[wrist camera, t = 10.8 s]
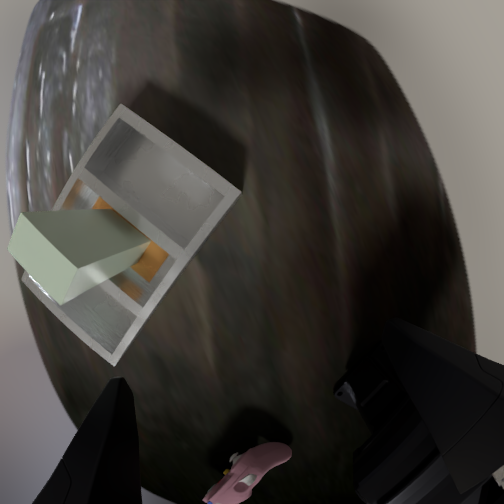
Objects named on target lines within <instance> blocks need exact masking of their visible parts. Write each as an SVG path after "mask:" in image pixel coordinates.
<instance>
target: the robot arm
mask: <svg viewBox="0 0 504 504" xmlns="http://www.w3.org/2000/svg"><path fill="white" fill-rule="evenodd" d="M382 345H384V346H383V347H382V348H381V346H382ZM338 392H341V393H339V394H338ZM333 393H334V396H335V397H336V398H337V399H339V400H341V401H343V402H344V403H346V404H348V405H350V406H351V407H353V408H355V409H357V410H359V412H360V414H361V416H362V418H363V419H364V421H365V423H366V425H367V427H368V429H369V430H370V432H371V434H372V435H371V436H370V438H369V439H368V440H367V441H366V442H365V443H364V444H363V445H362V446H361V447H360V448H357V449H356V450H355V451H354V452H353V484H354V489H355V492H356V493H357V495H358V496H359V497H360V498H361V500H362V501H364V502H365V503H366V504H504V365H502V364H499V363H497V362H494V361H492V360H489V359H487V358H485V357H482V356H480V355H478V354H476V353H475V354H474V352H471V351H469V350H467V349H465V348H463V347H461V346H459V345H456V344H454V343H452V342H450V341H448V340H446V339H443V338H441V337H439V336H437V335H435V334H433V333H430V332H428V331H426V330H424V329H422V328H420V327H417V326H415V325H413V324H411V323H409V322H406V321H404V320H402V319H400V318H397V317H395V318H392V319H389V320H387V321H386V323H385V326H384V330H383V333H382V341H379V342H378V343H377V345H376V346H375V347H374V348H373V349H372V350H371V351H370V353H369V354H368V355H367V356H366V357H365V358H364V359H363V360H362V361H361V362H360V363H359V364H358V366H357V367H356V368H355V369H354V370H353V371H352V372H351V373H350V374H349V375H348V376H347V377H346V379H345V380H344V381H343V382H342V383H341V384H340V385H339V386H338V387H337V388H336V389H335V390H334V392H333ZM62 458H63V459H61V460H60V462H59V463H58V465H57V467H56V469H55V470H54V472H53V474H52V475H51V477H50V479H49V480H48V481H47V483H46V485H45V486H44V487H43V489H42V490H41V492H40V493H39V494H38V496H37V497H36V499H35V500H34V501H33V503H32V504H142V496H141V483H140V466H139V441H138V431H137V423H136V415H135V406H134V397H133V393H132V391H131V389H130V387H129V385H128V384H127V382H126V380H125V379H124V378H123V377H112V378H110V380H109V381H108V383H107V384H106V386H105V387H104V389H103V390H102V392H101V394H100V395H99V397H98V398H97V400H96V402H95V403H94V405H93V406H92V408H91V410H90V411H89V413H88V414H87V416H86V418H85V419H84V421H83V423H82V424H81V426H80V428H79V429H78V431H77V433H76V434H75V436H74V438H73V439H72V441H71V443H70V445H69V446H68V448H67V450H66V451H65V453H64V455H63V457H62Z"/></svg>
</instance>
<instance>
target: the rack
mask: <svg viewBox="0 0 504 504" xmlns="http://www.w3.org/2000/svg"><path fill="white" fill-rule="evenodd" d="M241 196H242V192H241V191H240V190H238V189H237V188H236V187H235V186H233V185H232V184H231V183H229V182H228V181H227V180H225V179H224V178H223V177H221V176H220V175H219V174H218V173H216V172H215V171H214V170H212V169H211V168H210V167H208V166H207V165H206V164H204V163H203V162H202V161H200V160H199V159H198V158H196V157H195V156H194V155H192V154H191V153H189V152H188V151H187V150H185V149H184V148H183V147H181V146H180V145H179V144H177V143H176V142H174V141H173V140H172V139H170V138H169V137H168V136H166V135H165V134H163V133H162V132H161V131H159V130H158V129H156V128H155V127H154V126H152V125H151V124H149V123H148V122H147V121H145V120H144V119H142V118H141V117H139V116H138V115H137V114H135V113H134V112H132V111H131V110H129V109H128V108H127V107H125V106H124V105H122V104H120V105H119V106H118V108H117V109H116V110H115V112H114V113H113V114H112V115H111V117H110V118H109V119H108V121H107V122H106V124H105V125H104V126H103V128H102V129H101V130H100V132H99V133H98V135H97V136H96V138H95V139H94V140H93V142H92V143H91V145H90V146H89V148H88V149H87V151H86V152H85V154H84V155H83V157H82V159H81V160H80V162H79V163H78V165H77V167H76V168H75V170H74V171H73V173H72V175H71V176H70V178H69V180H68V182H67V183H66V185H65V187H64V189H63V190H62V192H61V194H60V196H59V198H58V199H57V201H56V203H55V205H54V207H53V209H52V211H58V210H86V209H112V210H113V211H114V212H115V213H117V214H118V215H119V216H120V217H121V218H123V219H124V220H125V221H126V222H128V223H129V224H130V225H131V226H133V227H134V228H135V229H137V230H138V231H139V232H140V233H142V234H143V235H144V236H145V237H147V238H148V239H149V240H151V242H150V244H149V245H148V247H147V248H146V250H145V252H144V253H143V255H142V256H141V258H140V259H139V261H138V263H137V264H135V265H133V266H131V267H129V268H127V269H125V270H124V271H122V272H120V273H118V274H116V275H114V276H113V277H111V278H109V279H107V280H105V281H103V282H102V283H100V284H98V285H96V286H94V287H93V288H91V289H89V290H87V291H85V292H84V293H82V294H80V295H78V296H77V297H75V298H73V299H71V300H70V301H68V302H66V303H64V304H63V305H60V304H59V303H58V302H57V301H56V300H54V299H53V298H52V297H51V296H50V295H49V294H48V293H47V292H46V291H45V290H44V289H43V288H42V287H41V286H40V285H39V284H38V283H37V282H36V281H35V280H34V279H33V277H32V276H31V275H30V274H29V273H28V272H27V271H26V270H25V271H24V274H23V277H22V281H23V282H24V283H25V284H26V285H27V287H28V288H29V289H30V290H31V291H32V292H33V293H34V294H35V295H36V296H37V297H38V298H39V299H40V301H41V302H42V303H43V304H44V305H45V306H46V307H47V308H48V309H49V310H50V311H51V312H52V313H53V314H54V315H55V316H56V317H57V318H59V319H60V320H61V321H62V322H63V323H64V324H65V325H66V326H67V327H68V328H69V329H70V330H71V331H72V332H74V333H75V334H76V335H77V336H78V337H79V338H80V339H81V340H83V341H84V342H85V343H86V344H87V345H88V346H90V347H91V348H92V349H93V350H94V351H95V352H97V353H98V354H99V355H100V356H102V357H103V358H104V359H105V360H107V361H108V362H109V363H110V364H112V365H113V366H115V365H116V364H117V363H118V361H119V360H120V359H121V357H122V356H123V355H124V354H125V352H126V351H127V350H128V348H129V347H130V346H131V345H132V343H133V342H134V340H135V339H136V337H137V336H138V334H139V333H140V331H141V330H142V329H143V327H144V326H145V324H146V323H147V321H148V320H149V319H150V317H151V316H152V314H153V313H154V312H155V310H156V309H157V307H158V306H159V304H160V303H161V302H162V300H163V299H164V298H165V296H166V295H167V293H168V292H169V291H170V289H171V288H172V286H173V285H174V284H175V282H176V281H177V280H178V278H179V277H180V276H181V274H182V273H183V271H184V270H185V269H186V267H187V266H188V265H189V263H190V262H191V261H192V259H193V258H194V257H195V255H196V254H197V253H198V251H199V250H200V249H201V247H202V246H203V245H204V243H205V242H206V241H207V239H208V238H209V237H210V236H211V234H212V233H213V232H214V230H215V229H216V228H217V226H218V225H219V224H220V223H221V221H222V220H223V219H224V217H225V216H226V215H227V214H228V212H229V211H230V210H231V208H232V207H233V206H234V205H235V203H236V202H237V201H238V200H239V198H240V197H241Z"/></svg>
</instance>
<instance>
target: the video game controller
mask: <svg viewBox="0 0 504 504" xmlns="http://www.w3.org/2000/svg"><path fill="white" fill-rule="evenodd" d="M237 454H238V452H237V453H235V454H233V455H232V456H231V458H230V461H229V462H231V461H232V460H233V465H232V467H231V470H229V469H226V470H225V471H224V472H223V474H224V475H225V476H224V477H223V478H222V480H220V481H219V482H218V483H217V484H214V485H213V486H212V488H211V489H210V490H209V491H208V493H207V495H206V496H205V497H204V498H203V501H204V502H206V503H208V504H238V503H240V502H242V501H244V500H246V499H247V498H249V497H250V496H251V494H252V490H251V489H252V488H253V487H254V486H255V485H256V484H257V483H258V482H259V481H260V479H261V478H262V477H263V475H264V474H265V473H266V472H267V471H268V470H270V469H271V468H273V467H275V466H277V465H279V464H281V463H284V462H286V461H287V460H289V458H290V457H291V455H292V451H291V449H290V447H289V446H288V445H286V444H284V443H280V442H268V443H264V444H261V445H258V446H256V447H254V448H250V449H249V450H248V451H247V452H245V453H243V454H242V455H239V456H237Z"/></svg>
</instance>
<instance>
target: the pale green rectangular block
mask: <svg viewBox="0 0 504 504" xmlns="http://www.w3.org/2000/svg"><path fill="white" fill-rule="evenodd" d="M150 242H151V240H149V239H148V238H147V237H145V236H144V235H143V234H142V233H140V232H139V231H138V230H137V229H135V228H134V227H133V226H131V225H130V224H129V223H128V222H126V221H125V220H124V219H123V218H121V217H120V216H119V215H118V214H117V213H115V212H114V211H113V210H112V209H86V210H58V211H38V212H21V214H20V216H19V219H18V221H17V224H16V226H15V229H14V231H13V234H12V237H11V240H10V242H9V245H8V248H7V249H8V251H9V252H10V253H11V254H12V256H13V257H14V258H15V259H16V260H17V261H18V262H19V263H20V265H21V266H22V267H23V268H24V269H25V270H26V271H27V272H28V273H29V274H30V275H31V276H32V277H33V279H34V280H35V281H36V282H37V283H38V284H39V285H40V286H41V287H42V288H43V289H44V290H45V291H46V292H47V293H48V294H49V295H50V296H51V297H52V298H53V299H54V300H56V301H57V302H58V303H59V304H60V305H63V304H64V303H66V302H68V301H70V300H71V299H73V298H75V297H77V296H78V295H80V294H82V293H84V292H85V291H87V290H89V289H91V288H93V287H94V286H96V285H98V284H100V283H102V282H103V281H105V280H107V279H109V278H111V277H113V276H114V275H116V274H118V273H120V272H122V271H124V270H125V269H127V268H129V267H131V266H133V265H135V264H137V263H138V261H139V259H140V258H141V256H142V255H143V253H144V252H145V250H146V248H147V247H148V245H149V244H150Z"/></svg>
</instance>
